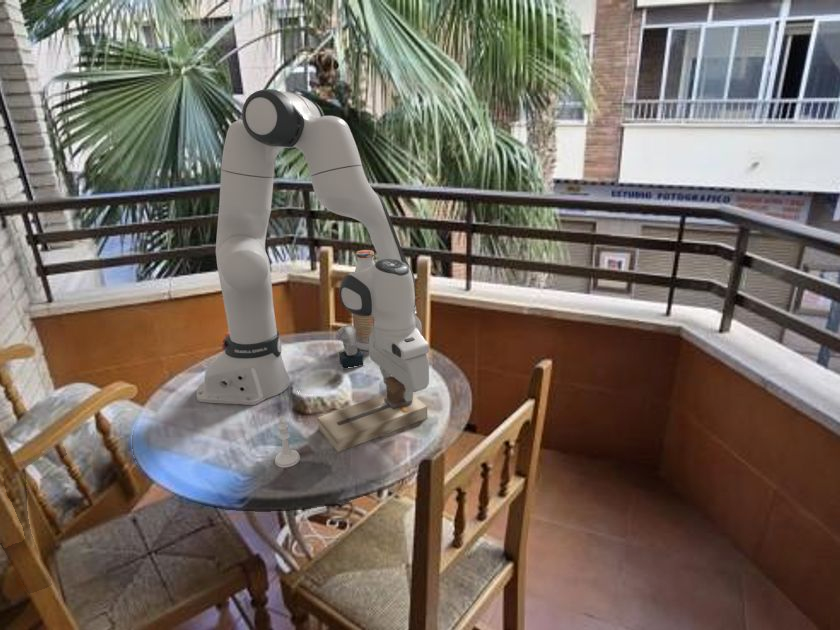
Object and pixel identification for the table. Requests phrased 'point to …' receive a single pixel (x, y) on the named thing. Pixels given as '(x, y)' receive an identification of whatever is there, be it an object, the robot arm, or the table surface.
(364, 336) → the fruit juice
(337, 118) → the robot arm
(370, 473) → the table surface
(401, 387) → the slider
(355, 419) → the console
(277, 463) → the chess piece
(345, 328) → the watch
